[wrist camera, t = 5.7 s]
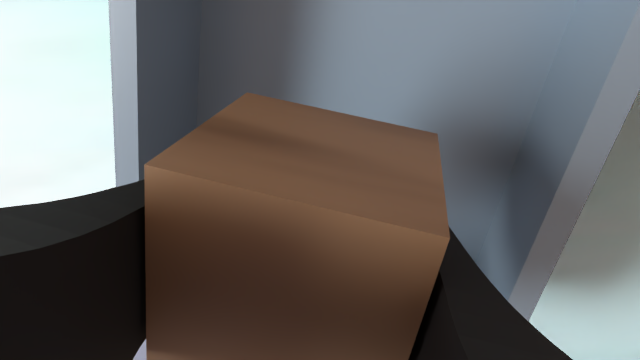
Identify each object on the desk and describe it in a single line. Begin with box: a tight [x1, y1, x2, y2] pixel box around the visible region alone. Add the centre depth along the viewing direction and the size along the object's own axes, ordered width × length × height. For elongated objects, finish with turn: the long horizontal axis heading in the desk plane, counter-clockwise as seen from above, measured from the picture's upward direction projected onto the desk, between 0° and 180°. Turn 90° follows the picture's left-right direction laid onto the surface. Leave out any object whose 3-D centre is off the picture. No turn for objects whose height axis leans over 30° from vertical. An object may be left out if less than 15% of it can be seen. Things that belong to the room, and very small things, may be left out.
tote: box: [109, 0, 640, 321], centre depth 14 cm, size 18×14×5 cm
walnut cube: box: [144, 92, 450, 360], centre depth 10 cm, size 5×5×5 cm
